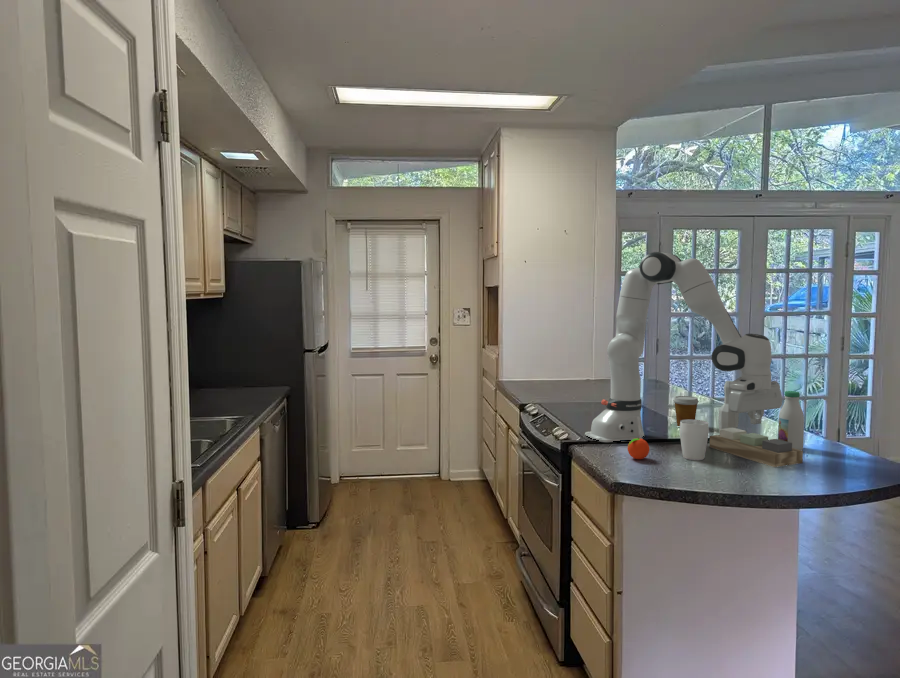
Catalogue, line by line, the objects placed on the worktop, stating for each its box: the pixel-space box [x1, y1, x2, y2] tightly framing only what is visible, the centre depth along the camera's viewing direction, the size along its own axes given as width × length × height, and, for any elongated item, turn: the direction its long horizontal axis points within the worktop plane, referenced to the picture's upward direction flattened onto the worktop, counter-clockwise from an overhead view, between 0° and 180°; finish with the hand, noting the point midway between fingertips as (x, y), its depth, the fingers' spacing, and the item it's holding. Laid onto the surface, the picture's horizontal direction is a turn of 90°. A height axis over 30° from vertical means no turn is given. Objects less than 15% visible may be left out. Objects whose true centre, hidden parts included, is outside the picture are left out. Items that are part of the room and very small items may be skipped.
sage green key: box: [740, 432, 769, 446], centre depth 207 cm, size 6×6×4 cm
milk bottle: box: [777, 390, 805, 451], centre depth 214 cm, size 8×8×20 cm
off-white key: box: [719, 428, 748, 440], centre depth 215 cm, size 6×6×4 cm
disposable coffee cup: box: [672, 395, 699, 427], centre depth 249 cm, size 10×10×12 cm
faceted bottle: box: [718, 380, 740, 431], centre depth 225 cm, size 6×6×22 cm
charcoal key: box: [762, 438, 792, 453], centre depth 198 cm, size 6×6×4 cm
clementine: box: [627, 438, 650, 460], centre depth 203 cm, size 8×7×7 cm
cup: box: [679, 419, 710, 461], centre depth 204 cm, size 9×9×12 cm
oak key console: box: [709, 434, 804, 468], centre depth 207 cm, size 12×27×4 cm, turn 21°
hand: (755, 423), depth 206 cm, fingers closed
